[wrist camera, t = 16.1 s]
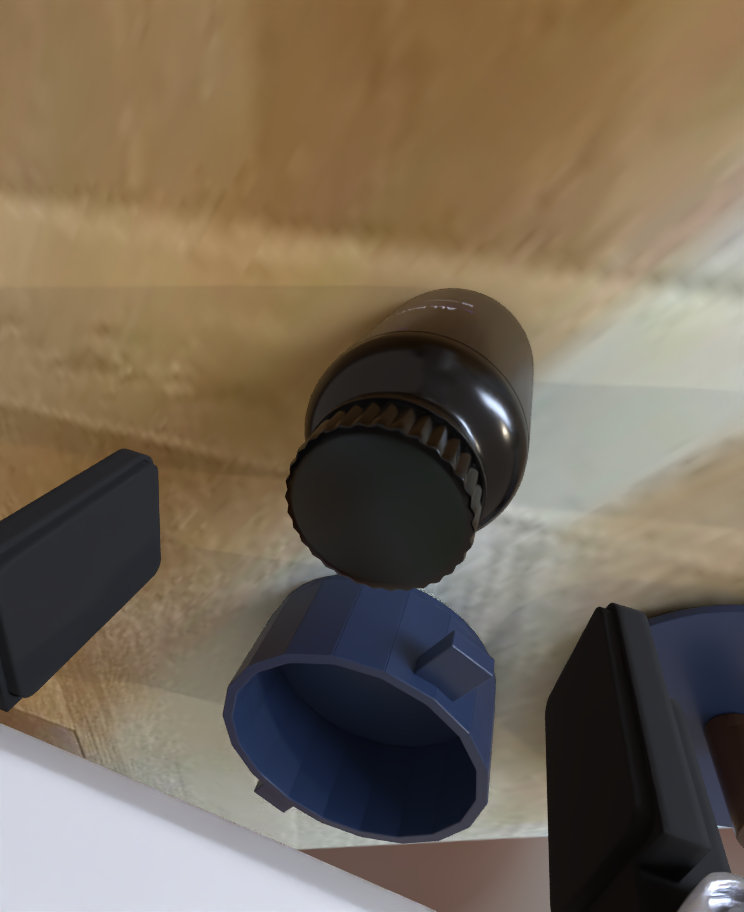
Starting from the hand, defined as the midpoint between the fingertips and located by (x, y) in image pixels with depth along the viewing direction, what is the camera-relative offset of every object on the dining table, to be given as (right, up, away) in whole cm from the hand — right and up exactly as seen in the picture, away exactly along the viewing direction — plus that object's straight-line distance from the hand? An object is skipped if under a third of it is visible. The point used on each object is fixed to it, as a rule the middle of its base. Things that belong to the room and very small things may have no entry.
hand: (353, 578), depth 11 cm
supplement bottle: (+4, +6, +12) cm, 14 cm away
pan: (+1, -11, +22) cm, 24 cm away
